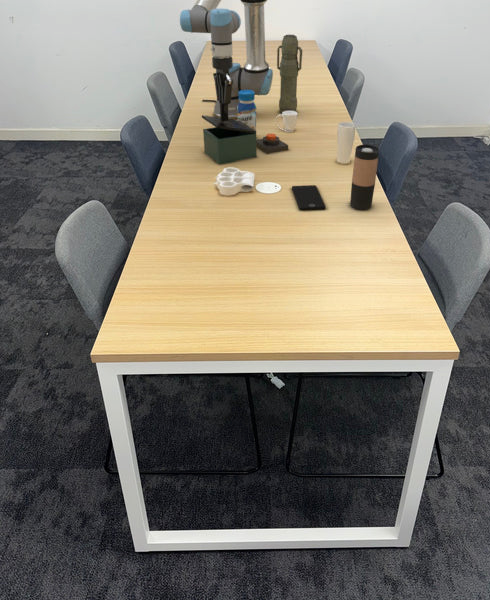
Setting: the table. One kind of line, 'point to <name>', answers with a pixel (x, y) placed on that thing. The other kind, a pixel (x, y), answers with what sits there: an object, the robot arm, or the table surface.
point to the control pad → (271, 145)
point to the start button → (271, 137)
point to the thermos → (289, 72)
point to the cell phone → (308, 197)
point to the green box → (229, 145)
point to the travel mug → (364, 176)
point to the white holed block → (234, 181)
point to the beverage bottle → (247, 108)
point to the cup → (288, 120)
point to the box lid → (229, 124)
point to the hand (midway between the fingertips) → (224, 120)
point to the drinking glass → (345, 141)
